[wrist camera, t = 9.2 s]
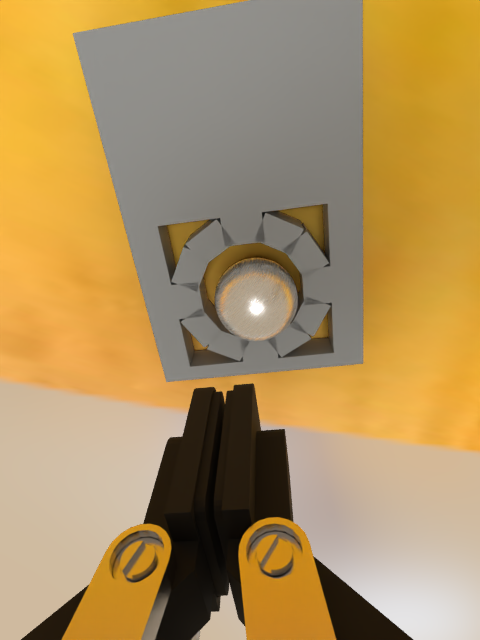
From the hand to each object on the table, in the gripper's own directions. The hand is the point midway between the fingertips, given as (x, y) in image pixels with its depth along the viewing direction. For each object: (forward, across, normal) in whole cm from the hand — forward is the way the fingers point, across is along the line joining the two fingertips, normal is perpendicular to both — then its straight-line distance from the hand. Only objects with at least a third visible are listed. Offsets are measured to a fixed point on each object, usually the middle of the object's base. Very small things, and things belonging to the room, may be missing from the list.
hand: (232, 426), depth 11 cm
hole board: (+21, 0, -1) cm, 21 cm away
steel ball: (+18, 0, +4) cm, 18 cm away
